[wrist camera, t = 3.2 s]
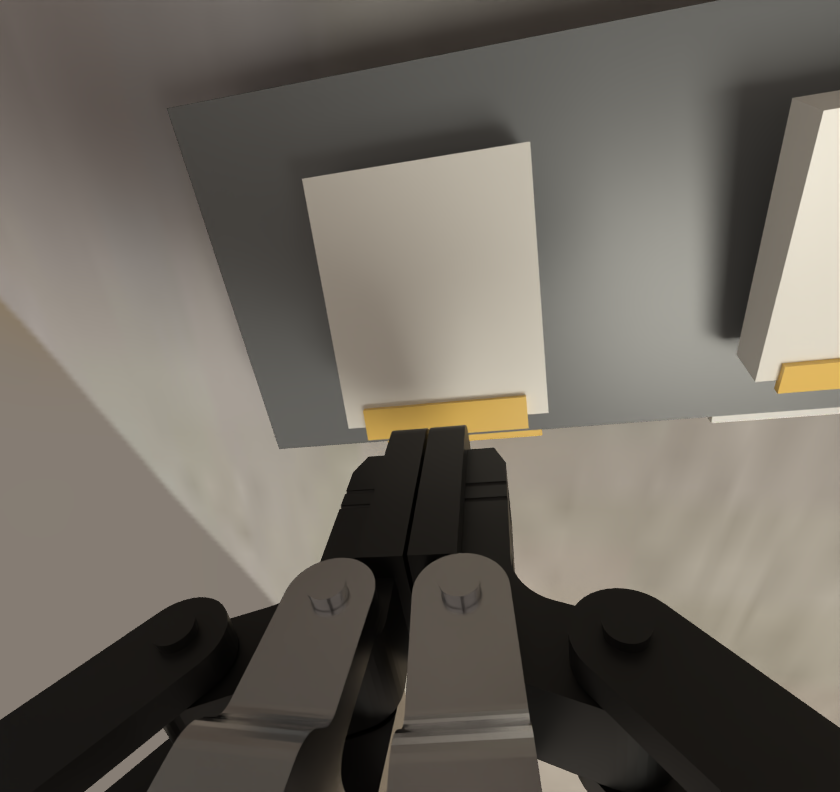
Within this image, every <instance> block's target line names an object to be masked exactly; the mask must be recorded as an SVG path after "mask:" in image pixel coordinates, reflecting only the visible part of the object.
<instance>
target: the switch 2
mask: <svg viewBox="0 0 840 792" xmlns="http://www.w3.org/2000/svg"><path fill="white" fill-rule="evenodd" d="M736 355H737V356H738V358H739V359H740V361H741V362H742V364H743V365H744V366H745V368H746V369H747V371H748V372H749V374H750V375H751V377H752V378H753V380H754V381H755V382H762V381H774V380H776V383H775V387H774V389H775V391H776V392H777V394H781V393H793V392H806V391H819V390H831V389H840V90H838V91H832V92H826V93H819V94H813V95H807V96H801V97H795V98H792V102H791V106H790V111H789V116H788V120H787V125H786V129H785V134H784V138H783V143H782V148H781V152H780V157H779V161H778V166H777V171H776V175H775V180H774V184H773V189H772V193H771V198H770V203H769V207H768V212H767V216H766V221H765V226H764V230H763V235H762V239H761V244H760V249H759V253H758V258H757V262H756V267H755V271H754V276H753V281H752V285H751V290H750V294H749V299H748V304H747V308H746V313H745V317H744V322H743V326H742V331H741V336H740V340H739V345H738V349H737V354H736Z"/></svg>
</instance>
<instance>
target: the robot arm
mask: <svg viewBox="0 0 840 792" xmlns="http://www.w3.org/2000/svg"><path fill="white" fill-rule="evenodd" d="M346 491H347V494H345V496H344V499H343V501H342V504H341V509H339V512H338V515H337V518H336V520H335V523H334V526H333V529H332V531H331V534H330V537H329V539H328V542H327V545H326V548H325V550H324V553H323V556H322V559H321V561H320V562H319V563H316V564H314V565H312V566H310V567H309V568H307V569H305V570H304V571H303V572H301V573H300V574H299V575H298V576H297V577H296V578H295V579H294V580H293V581H292V582H291V583H290V585H289V586H288V588H287V590H286V591H285V593H284V595H283V597H282V599H281V601H280V603H278V604H276V605H273V606H270V607H267V608H264V609H261V610H258V611H254V612H251V613H247V614H244V615H241V616H237V617H234V618H231V619H230V618H229V616H228V613H227V611H226V609H225V608H224V606H223V605H222V604H221V603H220V602H219V601H217V600H214V599H211V598H206V597H205V598H203V597H198V598H192V599H187V600H183V601H181V602H178V603H175V604H173V605H171V606H169V607H167V608H166V609H164V610H162V611H161V612H159V613H158V614H156V615H155V616H153V617H152V618H150V619H149V620H147V621H146V622H144V623H143V624H141V625H140V626H138V627H137V628H135V629H134V630H132V631H131V632H129V633H128V634H126V635H125V636H124V637H122V638H121V639H119V640H118V641H116V642H115V643H113V644H112V645H110V646H109V647H107V648H106V649H104V650H103V651H101V652H100V653H99V654H97V655H95V656H94V657H92V658H91V659H90V660H88V661H87V662H85V663H84V664H82V665H81V666H79V667H78V668H76V669H75V670H73V671H72V672H71V673H69V674H67V675H66V676H65V677H63V678H61V679H60V680H58V681H57V682H56V683H54V684H53V685H51V686H50V687H48V688H47V689H45V690H44V691H42V692H41V693H39V694H38V695H36V696H35V697H33V698H32V699H30V700H29V701H28V702H26V703H24V704H23V705H22V706H20V707H19V708H17V709H16V710H14V711H13V712H11V713H10V714H8V715H7V716H5V717H4V718H3V719H1V720H0V792H84V791H86V790H87V789H88V788H89V787H91V786H92V785H93V784H94V783H96V782H97V781H98V780H99V779H101V778H102V777H103V776H104V775H105V774H107V773H108V772H109V771H110V770H112V769H113V768H114V767H115V766H117V765H118V764H119V763H120V762H122V761H123V760H124V759H125V758H127V757H128V756H129V755H130V754H131V753H133V752H134V751H135V750H136V749H138V748H139V747H140V746H141V745H143V744H144V743H145V742H146V741H148V740H149V739H150V738H151V737H152V736H154V735H155V734H156V733H157V732H158V731H160V730H161V729H162V728H164V730H165V731H166V733H167V735H168V736H169V739H168V740H167V741H165V742H164V743H163V744H162V745H160V746H159V747H158V748H157V749H156V750H154V751H153V752H152V753H151V754H150V755H148V756H147V757H146V758H145V759H144V760H142V761H141V762H140V763H139V764H137V765H136V766H135V767H134V768H133V769H131V770H130V771H129V772H128V773H127V774H125V775H124V776H123V777H122V778H121V779H119V780H118V781H117V782H116V783H115V784H113V785H112V786H111V787H110V788H108V789H107V790H106V791H105V792H542V788H541V781H540V774H539V767H538V761H537V759H539V760H541V761H544V762H546V763H549V764H551V765H554V766H556V767H559V768H561V769H564V770H566V771H569V772H572V773H574V774H577V775H578V777H579V779H580V781H581V782H582V784H583V786H584V787H585V789H586V790H587V792H840V728H839V727H838V726H836V725H835V724H834V723H832V722H831V721H829V720H828V719H827V718H825V717H824V716H822V715H821V714H819V713H818V712H817V711H815V710H814V709H812V708H811V707H810V706H808V705H807V704H805V703H804V702H803V701H801V700H800V699H798V698H797V697H795V696H794V695H793V694H791V693H790V692H788V691H787V690H786V689H784V688H783V687H781V686H780V685H779V684H777V683H776V682H774V681H773V680H771V679H770V678H769V677H767V676H766V675H764V674H763V673H762V672H760V671H759V670H757V669H756V668H755V667H753V666H752V665H750V664H749V663H747V662H746V661H745V660H743V659H742V658H740V657H739V656H738V655H736V654H735V653H733V652H732V651H731V650H729V649H728V648H726V647H725V646H723V645H722V644H721V643H719V642H718V641H716V640H715V639H714V638H712V637H711V636H709V635H708V634H706V633H705V632H704V631H702V630H701V629H699V628H698V627H697V626H695V625H694V624H692V623H691V622H690V621H688V620H687V619H685V618H684V617H682V616H681V615H680V614H678V613H677V612H675V611H674V610H673V609H671V608H670V607H668V606H667V605H666V604H664V603H663V602H661V601H659V600H658V599H656V598H654V597H652V596H650V595H648V594H645V593H642V592H639V591H635V590H630V589H621V588H612V589H604V590H599V591H596V592H594V593H591V594H589V595H587V596H586V597H584V598H583V599H582V600H580V601H579V602H578V603H577V604H576V606H574V605H570V604H566V603H562V602H558V601H555V600H551V599H548V598H545V597H543V596H541V595H539V594H537V593H535V592H534V591H532V590H530V589H529V588H528V587H527V586H525V585H524V584H523V583H522V582H521V581H520V579H519V578H518V577H517V575H516V574H515V568H514V551H513V534H512V520H511V510H510V500H509V490H508V481H507V471H506V462H505V461H504V460H503V459H502V457H501V456H500V455H499V453H498V452H497V451H496V450H495V448H484V449H470V442H469V435H468V429H467V426H466V425H458V426H446V427H433V428H430V430H429V429H428V428H422V429H409V430H396V431H392V432H391V435H390V439H389V442H388V445H387V449H386V452H385V456H372V457H368V458H367V459H366V460H365V461H364V462H363V463H362V464H361V465H360V466H359V467H358V468H357V469H356V470H355V471H354V472H353V474H352V477H351V480H350V482H349V485H348V488H347V490H346ZM406 676H407V683H406ZM405 683H406V694H405V690H404V689H405Z"/></svg>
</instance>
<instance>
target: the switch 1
mask: <svg viewBox="0 0 840 792" xmlns="http://www.w3.org/2000/svg"><path fill="white" fill-rule="evenodd" d="M302 182H303V187H304V193H305V198H306V203H307V209H308V214H309V219H310V225H311V230H312V235H313V241H314V246H315V251H316V257H317V262H318V267H319V273H320V278H321V283H322V289H323V294H324V299H325V305H326V310H327V315H328V321H329V326H330V331H331V337H332V342H333V347H334V353H335V358H336V363H337V369H338V374H339V380H340V385H341V390H342V396H343V401H344V406H345V412H346V417H347V422H348V428H349V429H352V428H365V427H366V431H367V437H368V440H381V439H390V435H391V432H392V431H396V430H409V429H422V428H428V429H429V430H430V428H433V427H446V426H458V425H466V426H467V429H468V433H474V432H487V431H501V430H514V429H527V428H529V426H528V414H541V413H549V411H548V397H547V382H546V367H545V352H544V338H543V323H542V308H541V294H540V279H539V264H538V249H537V235H536V220H535V205H534V190H533V176H532V161H531V146H530V142H524V143H517V144H511V145H505V146H499V147H493V148H487V149H481V150H475V151H469V152H463V153H456V154H450V155H444V156H438V157H432V158H426V159H420V160H414V161H408V162H401V163H395V164H389V165H383V166H377V167H371V168H365V169H359V170H353V171H347V172H340V173H334V174H328V175H322V176H316V177H310V178H304V179H302Z"/></svg>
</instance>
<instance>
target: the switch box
mask: <svg viewBox="0 0 840 792" xmlns="http://www.w3.org/2000/svg"><path fill="white" fill-rule="evenodd" d="M838 90H840V0H718V1H713V2H707V3H702V4H697V5H692V6H687V7H682V8H677V9H672V10H667V11H662V12H656V13H651V14H646V15H641V16H636V17H631V18H626V19H621V20H616V21H611V22H605V23H600V24H595V25H590V26H585V27H580V28H575V29H570V30H565V31H560V32H554V33H549V34H544V35H539V36H534V37H529V38H524V39H519V40H514V41H509V42H503V43H498V44H493V45H488V46H483V47H478V48H473V49H468V50H463V51H458V52H452V53H447V54H442V55H437V56H432V57H427V58H422V59H417V60H412V61H407V62H401V63H396V64H391V65H386V66H381V67H376V68H371V69H366V70H361V71H356V72H350V73H345V74H340V75H335V76H330V77H325V78H320V79H315V80H310V81H305V82H299V83H294V84H289V85H284V86H279V87H274V88H269V89H264V90H259V91H254V92H248V93H243V94H238V95H233V96H228V97H223V98H218V99H213V100H208V101H203V102H197V103H192V104H187V105H182V106H177V107H172V108H167V110H168V114H169V117H170V120H171V123H172V126H173V129H174V132H175V135H176V138H177V141H178V144H179V147H180V150H181V153H182V156H183V159H184V162H185V165H186V168H187V171H188V174H189V177H190V180H191V183H192V186H193V189H194V192H195V195H196V198H197V201H198V204H199V207H200V210H201V213H202V216H203V219H204V223H205V226H206V229H207V232H208V235H209V238H210V241H211V244H212V247H213V250H214V253H215V256H216V259H217V262H218V265H219V268H220V271H221V274H222V277H223V280H224V283H225V286H226V289H227V292H228V295H229V298H230V301H231V304H232V307H233V310H234V313H235V316H236V319H237V322H238V325H239V328H240V332H241V335H242V338H243V341H244V344H245V347H246V350H247V353H248V356H249V359H250V362H251V365H252V368H253V371H254V374H255V377H256V380H257V383H258V386H259V389H260V392H261V395H262V398H263V401H264V404H265V407H266V410H267V413H268V416H269V419H270V422H271V425H272V428H273V431H274V434H275V437H276V441H277V444H278V447H279V449H285V448H299V447H312V446H326V445H339V444H352V443H366V442H379V441H388V442H389V439H381V440H368V437H367V431H366V427H365V428H352V429H349V428H348V422H347V417H346V412H345V406H344V401H343V396H342V390H341V385H340V380H339V374H338V369H337V363H336V358H335V353H334V347H333V342H332V337H331V331H330V326H329V321H328V315H327V310H326V305H325V299H324V294H323V289H322V283H321V278H320V273H319V267H318V262H317V257H316V251H315V246H314V241H313V235H312V230H311V225H310V219H309V214H308V209H307V203H306V198H305V193H304V187H303V182H302V179H304V178H310V177H316V176H322V175H328V174H334V173H340V172H347V171H353V170H359V169H365V168H371V167H377V166H383V165H389V164H395V163H401V162H408V161H414V160H420V159H426V158H432V157H438V156H444V155H450V154H456V153H463V152H469V151H475V150H481V149H487V148H493V147H499V146H505V145H511V144H517V143H524V142H530V146H531V161H532V176H533V190H534V205H535V220H536V235H537V249H538V264H539V279H540V294H541V308H542V323H543V338H544V352H545V367H546V382H547V397H548V411H549V413H541V414H528V426H529V428H527V429H514V430H501V431H487V432H474V433H468V435H469V441H472V440H485V439H499V438H513V437H527V436H540V435H542V429H554V428H567V427H580V426H594V425H607V424H621V423H634V422H648V421H661V420H674V419H688V418H701V417H708V419H709V420H710V422H711V423H719V422H733V421H747V420H761V419H774V418H788V417H802V416H816V415H829V414H840V389H831V390H819V391H806V392H793V393H781V394H777V392H776V391H775V389H774V387H775V383H776V380H774V381H762V382H755V381H754V380H753V378H752V377H751V375H750V374H749V372H748V371H747V369H746V368H745V366H744V365H743V364H742V362H741V361H740V359H739V358H738V356H737V355H736V354H737V349H738V345H739V340H740V336H741V331H742V326H743V322H744V317H745V313H746V308H747V304H748V299H749V294H750V290H751V285H752V281H753V276H754V271H755V267H756V262H757V258H758V253H759V249H760V244H761V239H762V235H763V230H764V226H765V221H766V216H767V212H768V207H769V203H770V198H771V193H772V189H773V184H774V180H775V175H776V171H777V166H778V161H779V157H780V152H781V148H782V143H783V138H784V134H785V129H786V125H787V120H788V116H789V111H790V106H791V102H792V98H795V97H801V96H807V95H813V94H819V93H826V92H832V91H838Z"/></svg>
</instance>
